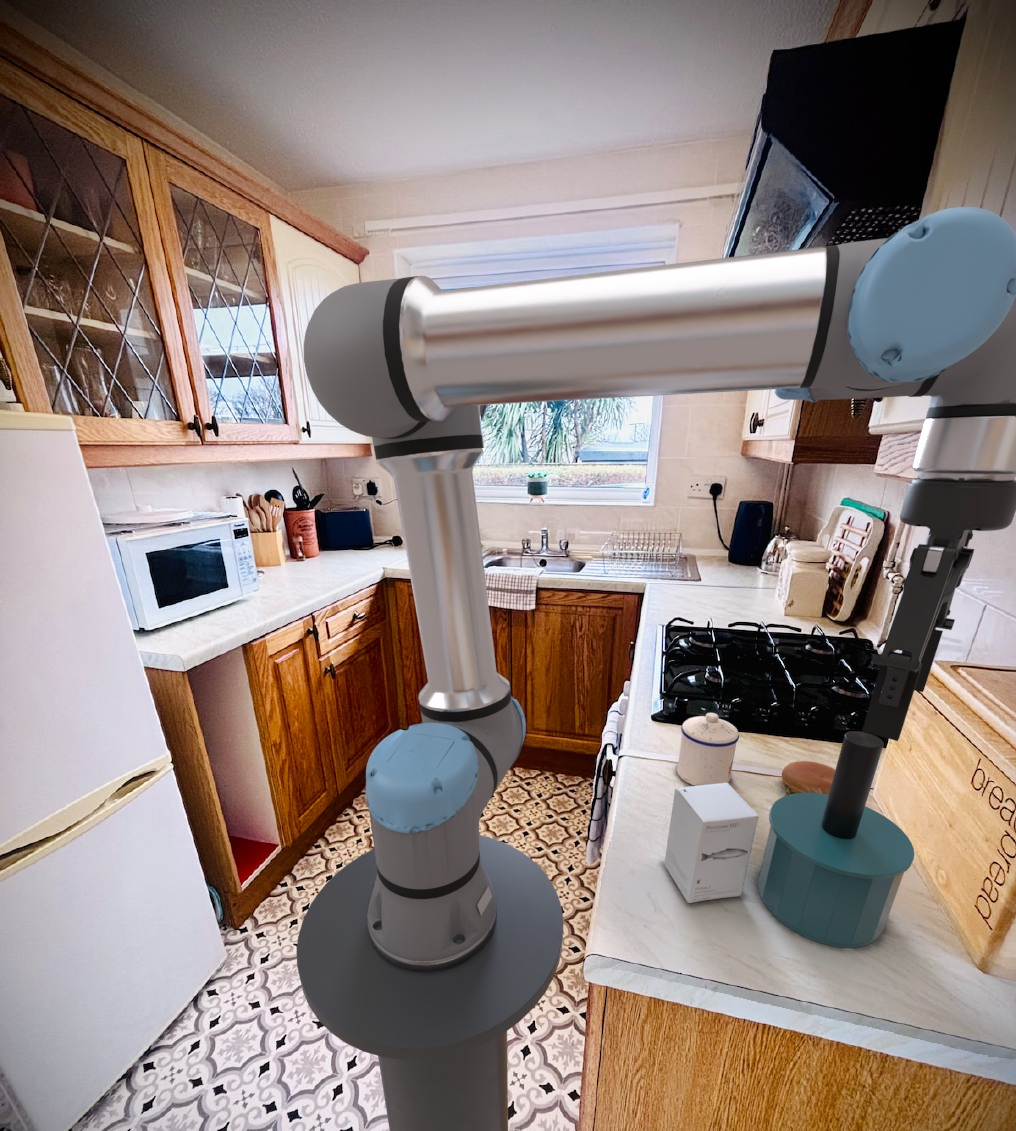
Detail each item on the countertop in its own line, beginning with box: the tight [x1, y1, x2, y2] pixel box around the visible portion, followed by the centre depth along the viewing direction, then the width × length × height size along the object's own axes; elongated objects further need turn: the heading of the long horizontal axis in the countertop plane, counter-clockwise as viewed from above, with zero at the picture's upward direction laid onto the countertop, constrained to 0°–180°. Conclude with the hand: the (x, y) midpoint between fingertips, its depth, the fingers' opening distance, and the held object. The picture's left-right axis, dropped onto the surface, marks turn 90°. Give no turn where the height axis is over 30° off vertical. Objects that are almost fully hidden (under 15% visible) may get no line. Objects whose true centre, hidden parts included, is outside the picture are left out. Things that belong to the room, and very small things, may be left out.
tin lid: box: [768, 730, 915, 879], centre depth 61 cm, size 15×15×13 cm
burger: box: [781, 760, 836, 795], centre depth 87 cm, size 10×9×5 cm
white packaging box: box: [663, 782, 759, 904], centre depth 68 cm, size 7×7×13 cm
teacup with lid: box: [676, 712, 740, 786], centre depth 93 cm, size 12×9×12 cm
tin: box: [757, 825, 905, 949], centre depth 65 cm, size 14×14×10 cm
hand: (895, 709), depth 53 cm, fingers open, 13 cm apart
